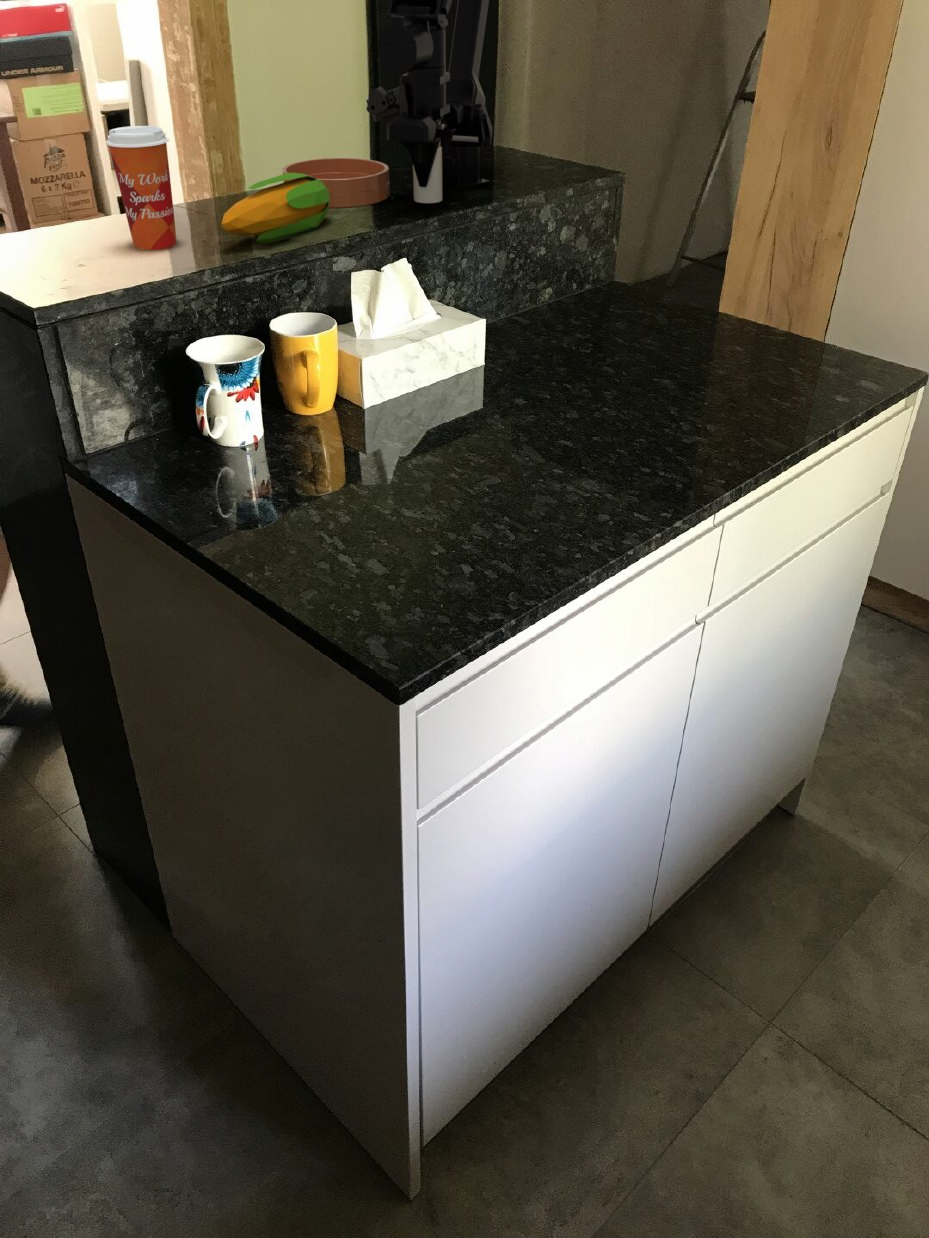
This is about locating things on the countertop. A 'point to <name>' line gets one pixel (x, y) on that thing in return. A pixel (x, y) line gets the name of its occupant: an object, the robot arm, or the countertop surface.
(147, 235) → the paper cup
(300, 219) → the corn
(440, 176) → the cylinder
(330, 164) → the bowl
